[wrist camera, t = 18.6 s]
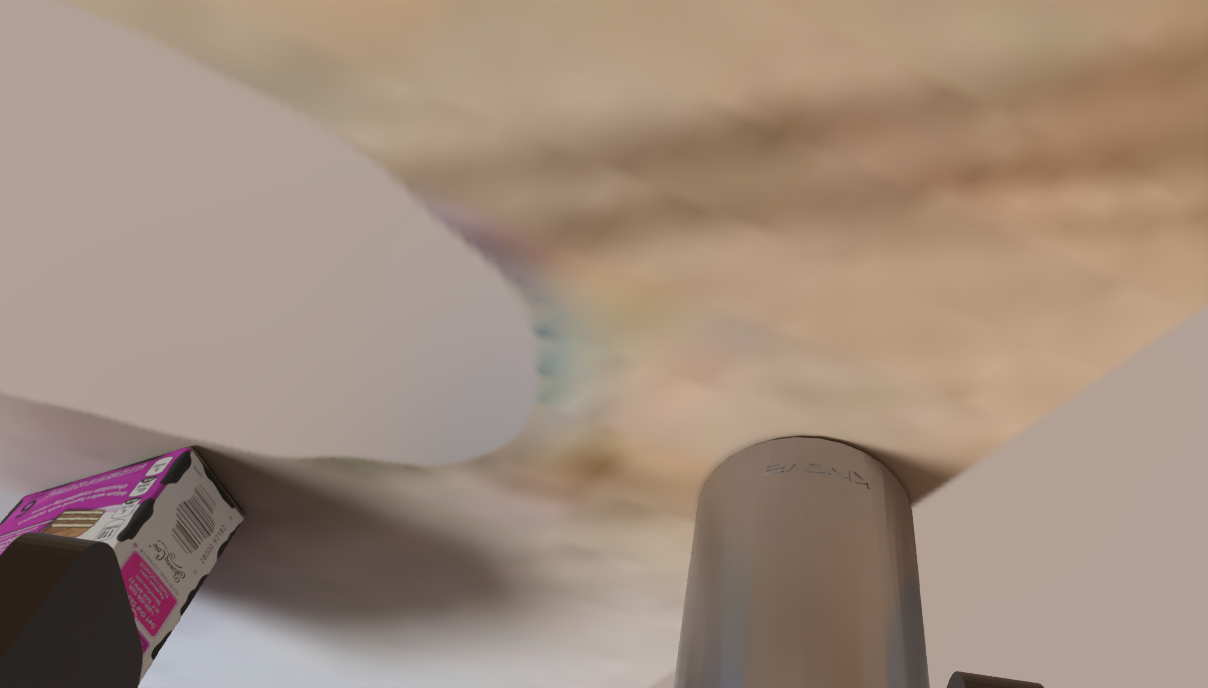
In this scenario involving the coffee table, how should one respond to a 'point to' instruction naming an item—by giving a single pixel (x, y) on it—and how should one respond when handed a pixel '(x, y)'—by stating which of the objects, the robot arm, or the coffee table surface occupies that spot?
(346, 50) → the coffee table surface
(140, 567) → the candy bar box
